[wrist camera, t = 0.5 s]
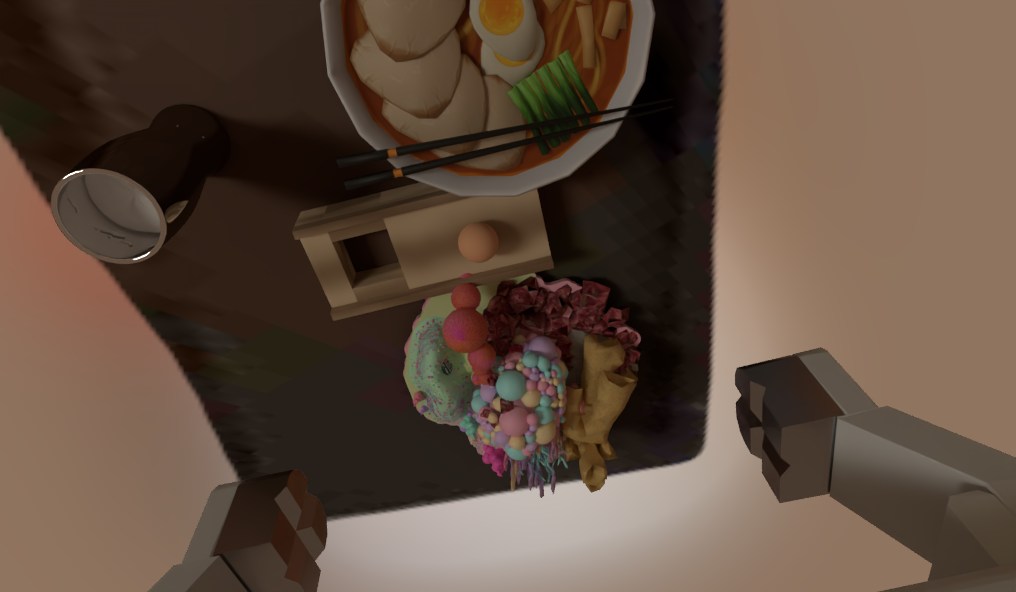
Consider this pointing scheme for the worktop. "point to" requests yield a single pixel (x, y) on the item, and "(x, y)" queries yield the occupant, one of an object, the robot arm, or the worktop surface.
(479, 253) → the ball
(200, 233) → the worktop surface
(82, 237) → the beer glass
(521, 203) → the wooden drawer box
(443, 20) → the ramen bowl
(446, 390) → the pastel sphere sculpture
